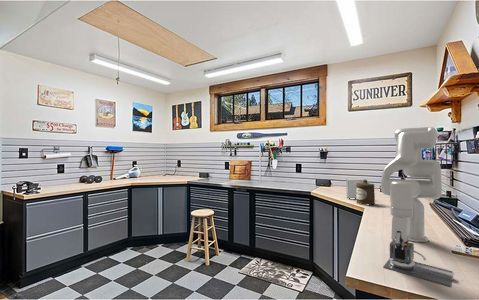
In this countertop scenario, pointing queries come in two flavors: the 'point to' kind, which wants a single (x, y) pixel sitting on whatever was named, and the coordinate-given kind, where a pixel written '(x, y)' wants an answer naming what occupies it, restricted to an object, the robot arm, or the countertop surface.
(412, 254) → the socket
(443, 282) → the lever switch plate
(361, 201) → the wooden container
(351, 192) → the hard drive box
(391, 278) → the countertop surface
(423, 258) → the pliers
